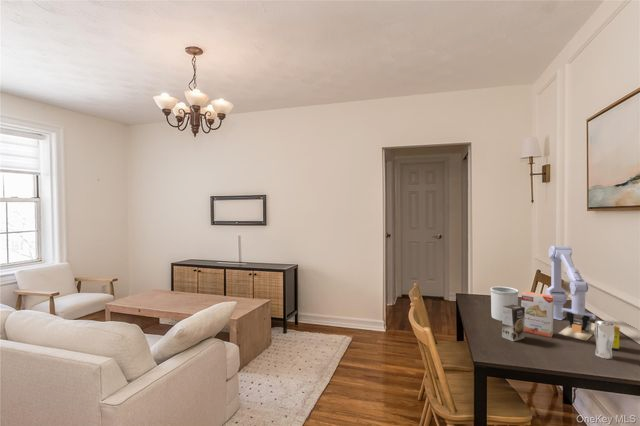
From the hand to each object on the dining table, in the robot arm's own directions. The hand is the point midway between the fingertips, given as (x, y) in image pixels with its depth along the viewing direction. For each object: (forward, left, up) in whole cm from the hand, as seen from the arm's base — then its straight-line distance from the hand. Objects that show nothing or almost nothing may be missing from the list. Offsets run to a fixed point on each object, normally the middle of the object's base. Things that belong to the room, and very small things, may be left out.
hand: (577, 328), depth 181 cm
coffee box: (-18, -37, -2) cm, 41 cm away
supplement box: (+15, -13, -2) cm, 20 cm away
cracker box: (-13, -20, -2) cm, 24 cm away
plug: (0, +3, -1) cm, 3 cm away
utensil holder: (-34, -9, -2) cm, 35 cm away
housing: (0, +4, -1) cm, 4 cm away
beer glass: (+16, -27, -2) cm, 31 cm away
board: (+1, +5, -2) cm, 5 cm away
